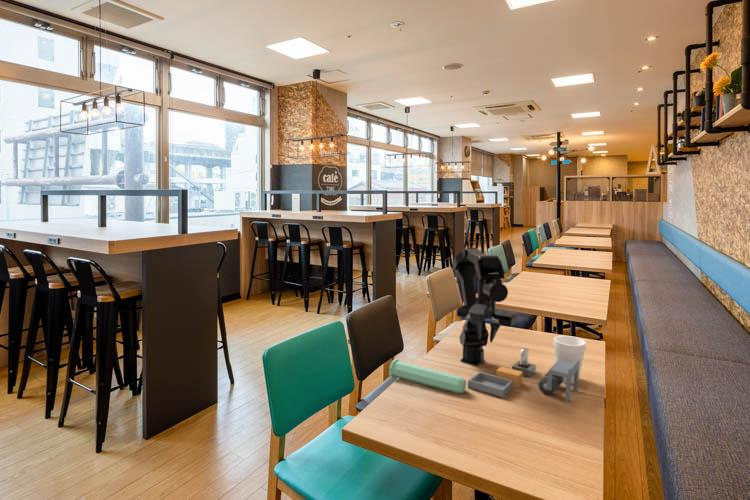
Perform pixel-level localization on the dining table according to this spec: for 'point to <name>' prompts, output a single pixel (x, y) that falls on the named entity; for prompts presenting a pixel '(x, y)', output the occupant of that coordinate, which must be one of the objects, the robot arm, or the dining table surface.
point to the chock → (510, 375)
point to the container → (427, 376)
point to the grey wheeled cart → (560, 377)
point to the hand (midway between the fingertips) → (485, 340)
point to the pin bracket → (525, 369)
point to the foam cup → (569, 351)
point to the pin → (524, 358)
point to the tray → (490, 384)
